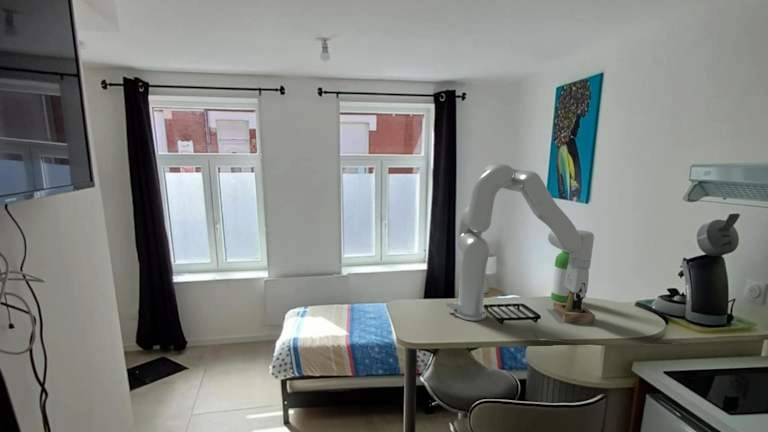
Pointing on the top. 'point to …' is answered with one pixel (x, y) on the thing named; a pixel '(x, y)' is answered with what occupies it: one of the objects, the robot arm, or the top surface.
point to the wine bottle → (560, 278)
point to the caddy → (574, 314)
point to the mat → (561, 319)
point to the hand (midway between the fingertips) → (573, 306)
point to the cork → (569, 303)
